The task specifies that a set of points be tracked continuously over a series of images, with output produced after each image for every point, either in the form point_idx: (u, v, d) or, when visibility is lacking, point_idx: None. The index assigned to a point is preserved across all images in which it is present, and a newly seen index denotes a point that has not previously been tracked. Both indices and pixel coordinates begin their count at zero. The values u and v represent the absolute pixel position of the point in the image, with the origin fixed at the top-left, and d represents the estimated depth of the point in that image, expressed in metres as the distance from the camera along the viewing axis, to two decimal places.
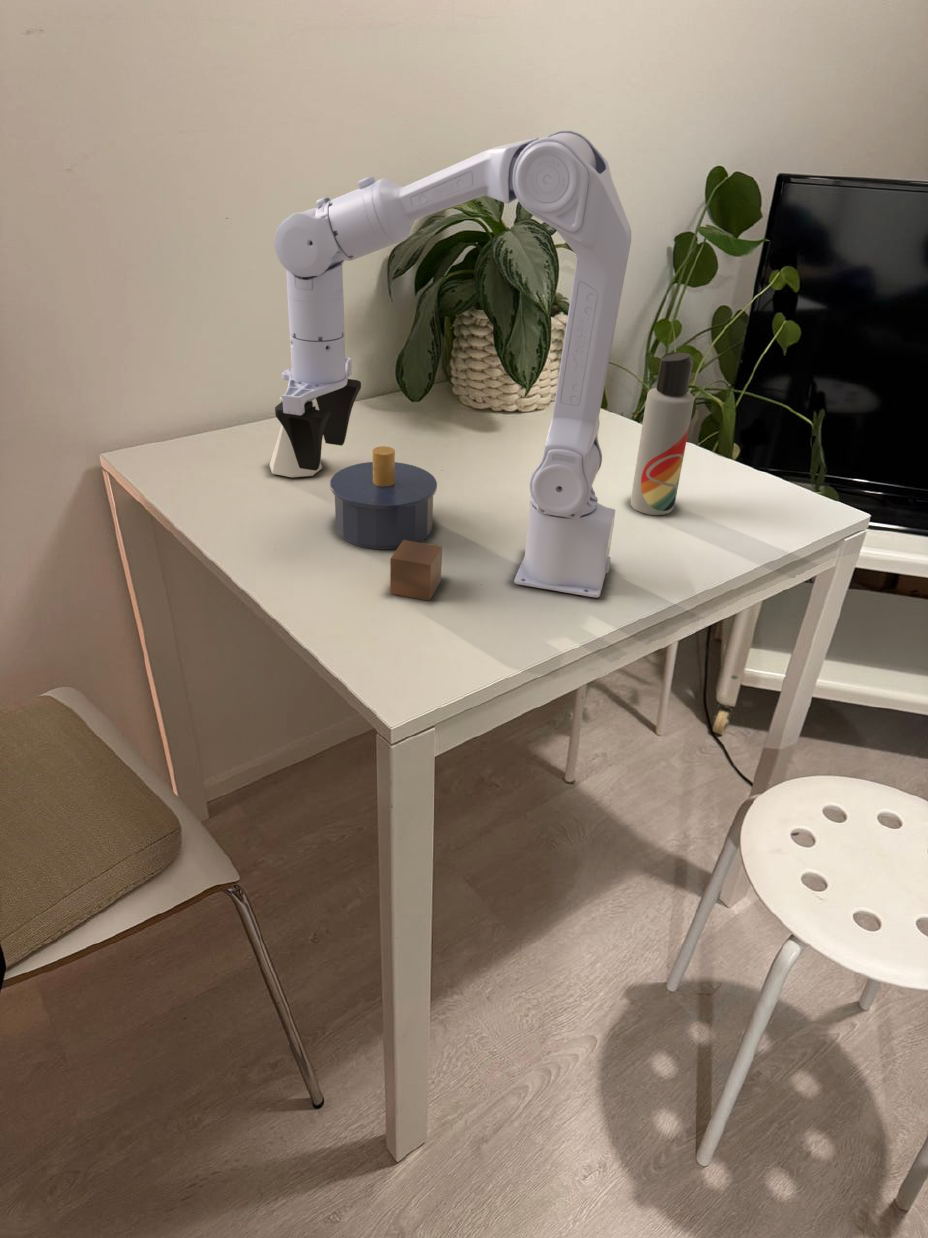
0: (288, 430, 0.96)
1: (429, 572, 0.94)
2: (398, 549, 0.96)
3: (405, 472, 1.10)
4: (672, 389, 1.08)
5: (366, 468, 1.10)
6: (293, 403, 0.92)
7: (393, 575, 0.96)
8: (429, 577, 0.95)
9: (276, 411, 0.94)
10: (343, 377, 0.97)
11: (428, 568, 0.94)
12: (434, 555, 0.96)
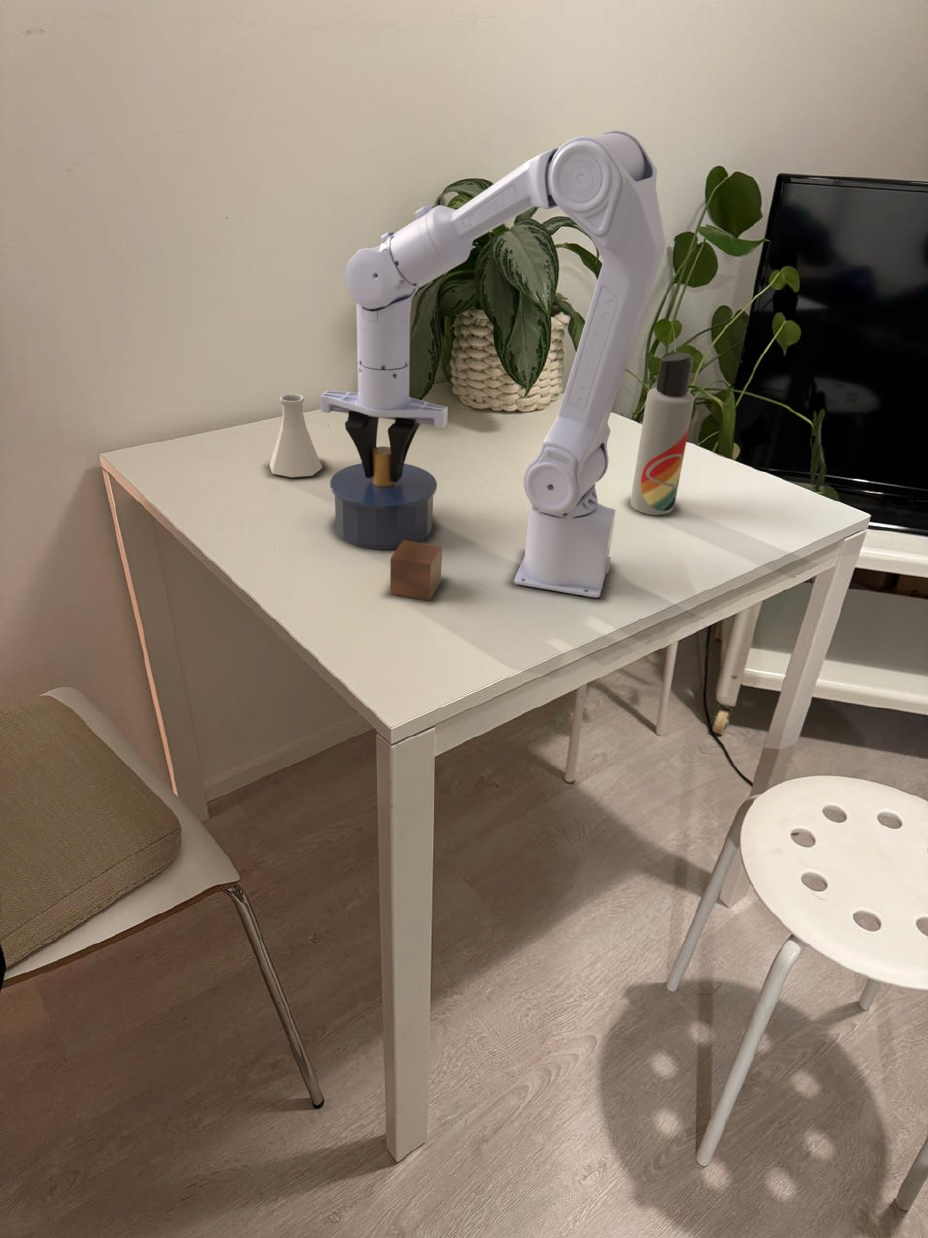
0: None
1: (429, 572, 0.94)
2: (398, 549, 0.96)
3: (405, 472, 1.10)
4: (672, 389, 1.08)
5: None
6: None
7: (393, 575, 0.96)
8: (429, 577, 0.95)
9: None
10: (374, 407, 0.99)
11: (428, 568, 0.94)
12: (434, 555, 0.96)
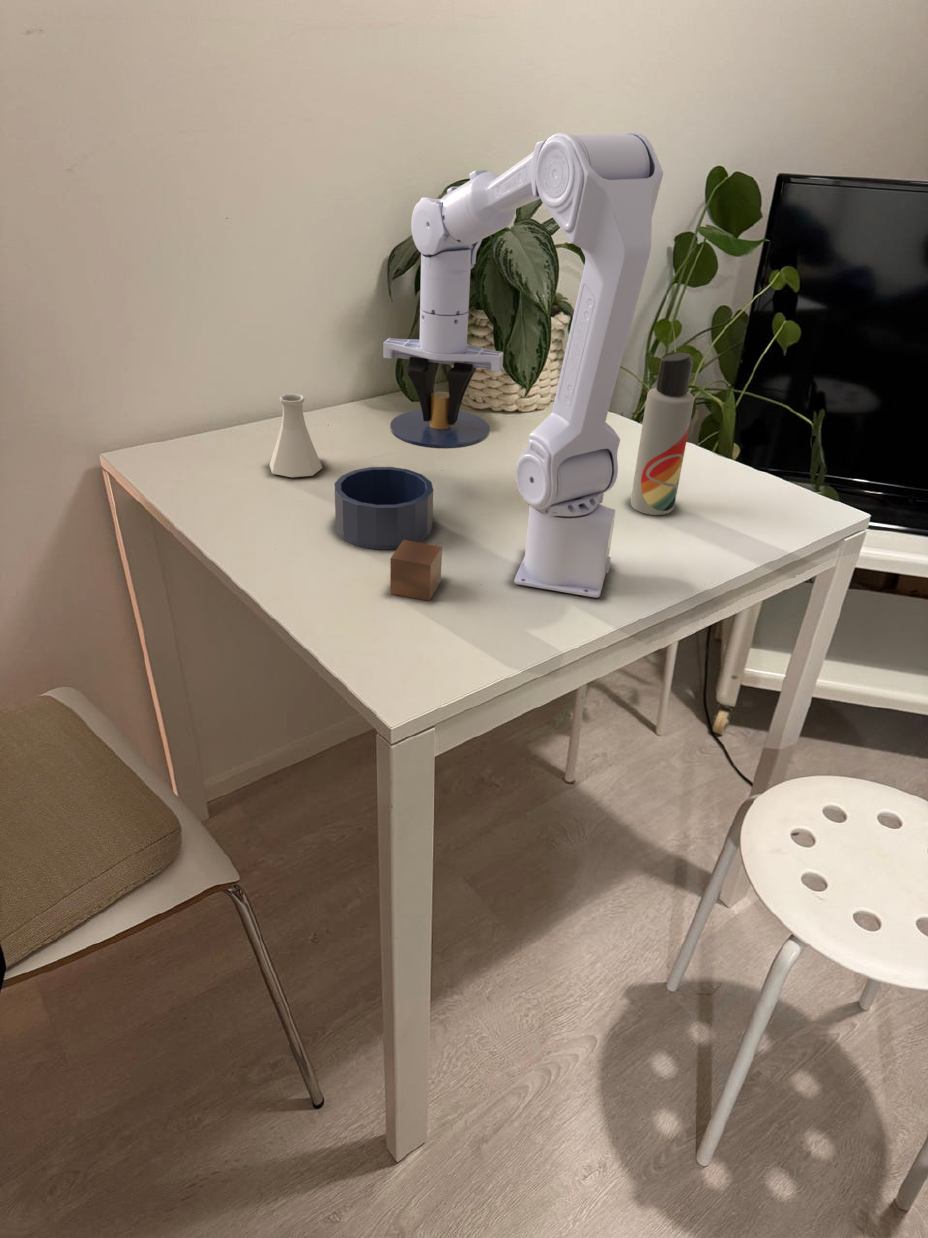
0: None
1: (429, 572, 0.94)
2: (398, 549, 0.96)
3: (459, 417, 1.17)
4: (672, 389, 1.08)
5: (422, 414, 1.17)
6: None
7: (393, 575, 0.96)
8: (429, 577, 0.95)
9: None
10: (436, 352, 1.06)
11: (428, 568, 0.94)
12: (434, 555, 0.96)
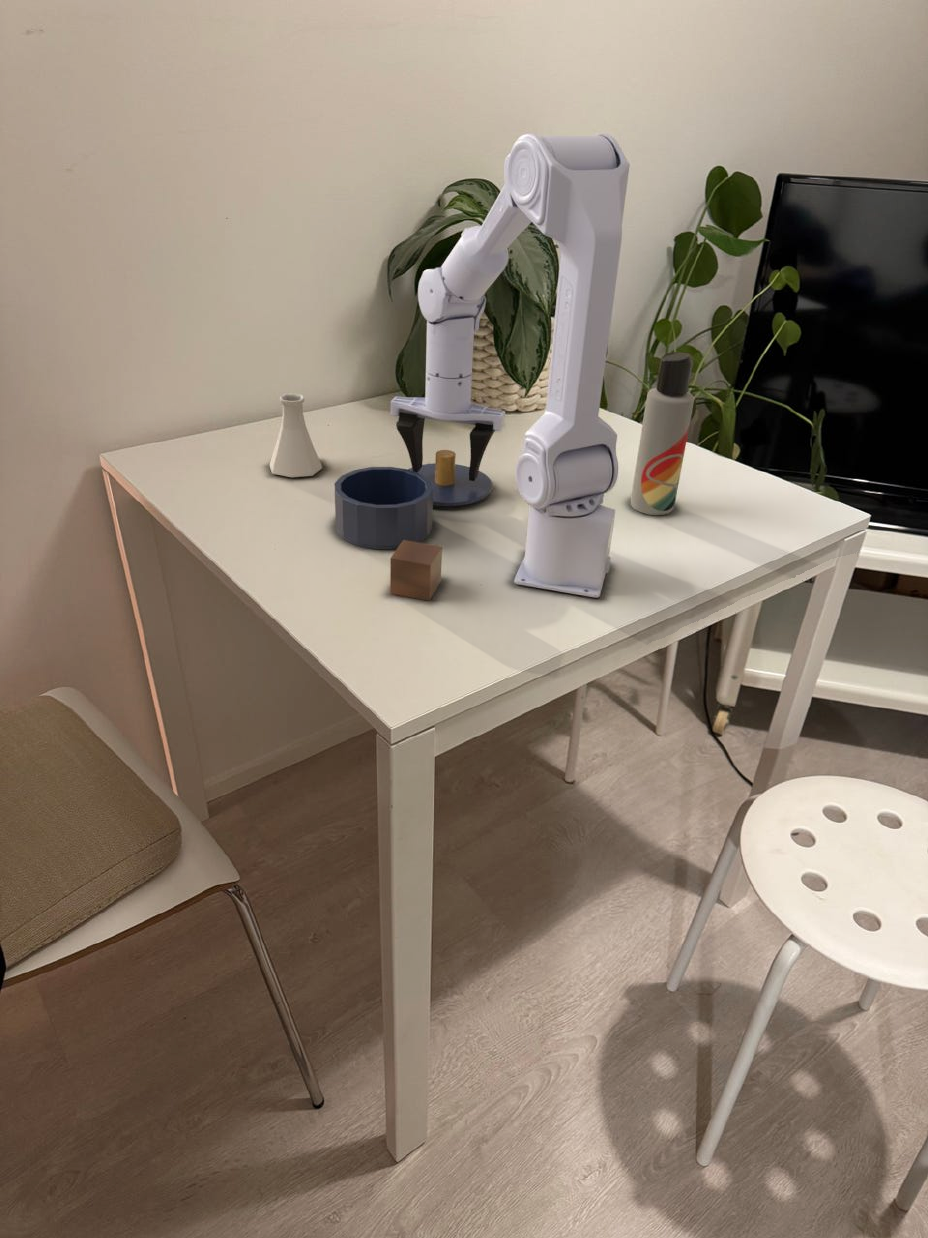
0: None
1: (429, 572, 0.94)
2: (398, 549, 0.96)
3: (462, 473, 1.22)
4: (672, 389, 1.08)
5: (427, 469, 1.23)
6: None
7: (393, 575, 0.96)
8: (429, 577, 0.95)
9: None
10: (441, 412, 1.12)
11: (428, 568, 0.94)
12: (434, 555, 0.96)
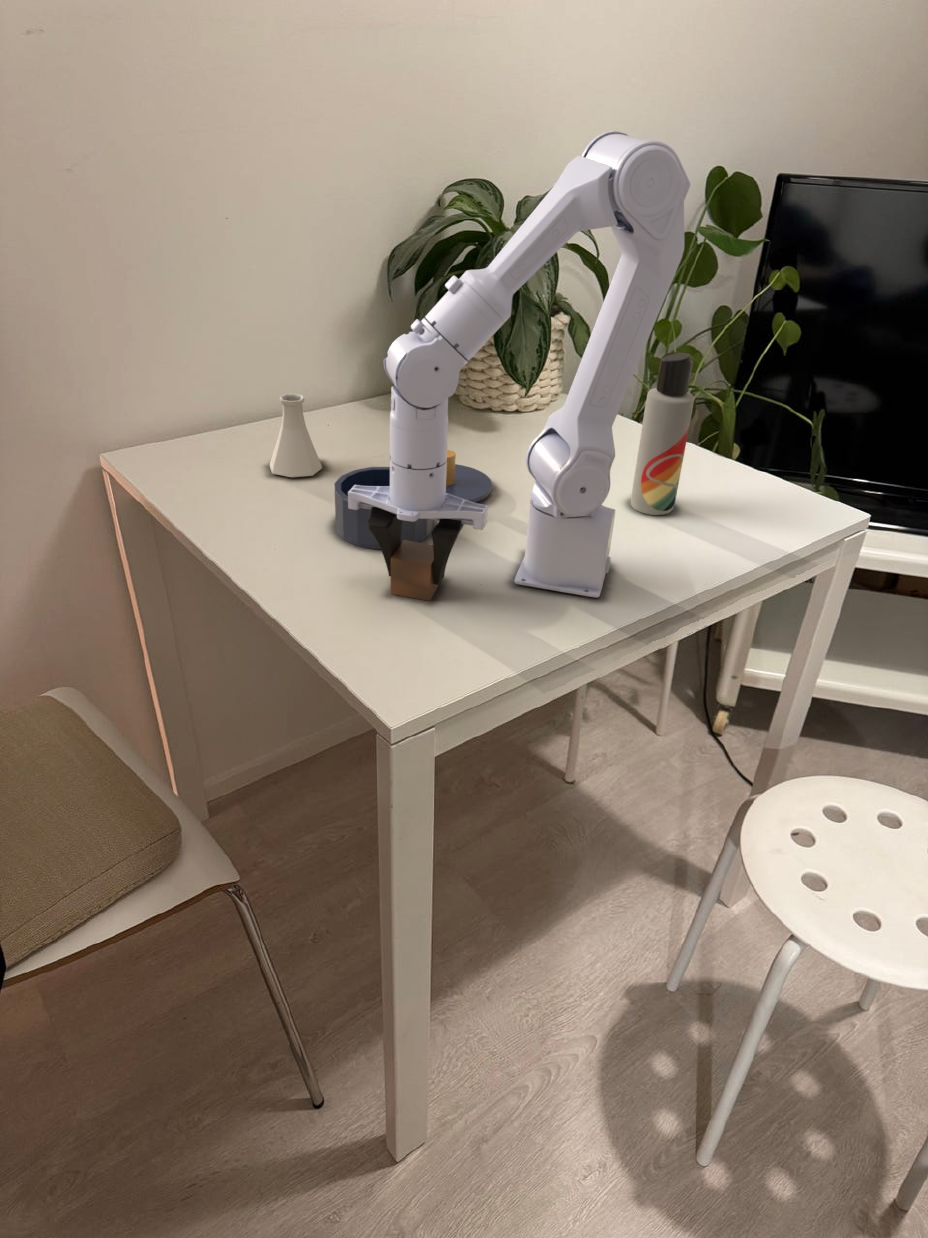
0: (449, 550, 0.93)
1: (429, 572, 0.94)
2: (398, 549, 0.96)
3: (462, 473, 1.22)
4: (672, 389, 1.08)
5: None
6: (486, 515, 0.92)
7: (393, 575, 0.96)
8: (429, 577, 0.95)
9: (454, 536, 0.91)
10: None
11: (428, 568, 0.94)
12: None
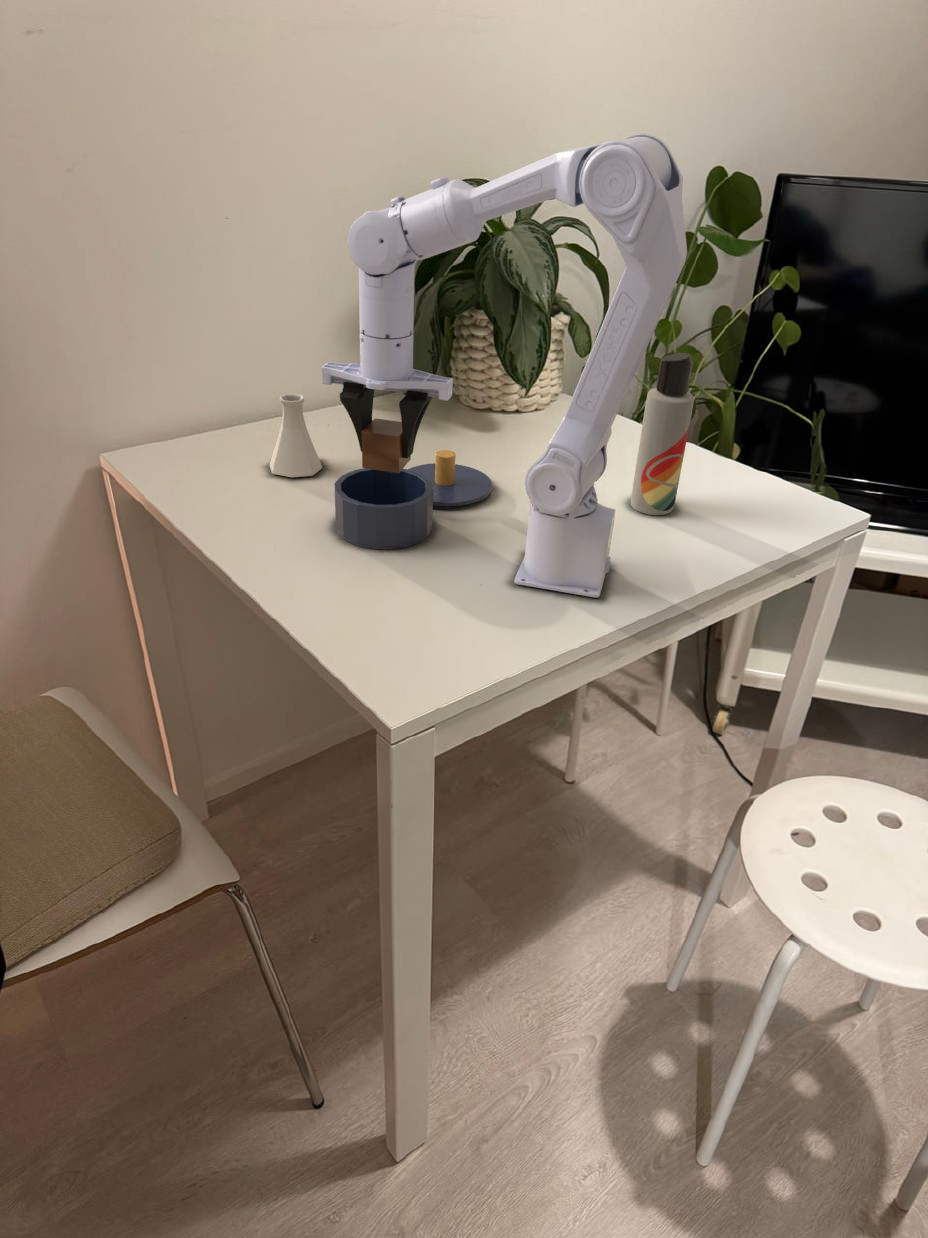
0: (416, 421, 0.99)
1: (398, 444, 1.00)
2: (369, 425, 1.02)
3: (462, 473, 1.22)
4: (672, 389, 1.08)
5: (427, 469, 1.23)
6: (451, 386, 0.98)
7: (364, 448, 1.02)
8: (398, 449, 1.01)
9: (420, 405, 0.97)
10: None
11: (397, 440, 1.00)
12: None
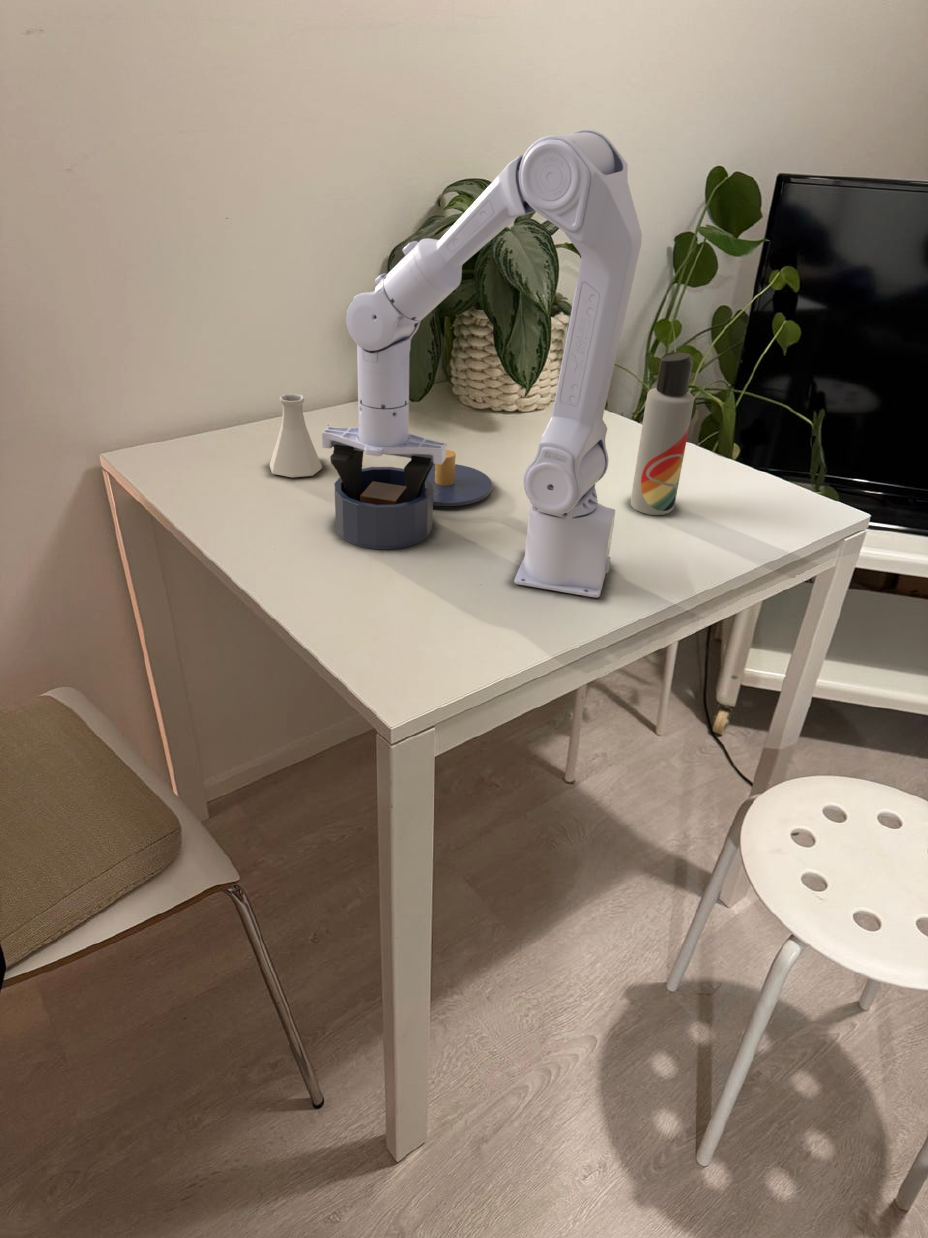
0: (420, 485, 1.04)
1: None
2: (367, 488, 1.08)
3: (462, 473, 1.22)
4: (672, 389, 1.08)
5: None
6: (444, 451, 1.03)
7: None
8: None
9: (424, 471, 1.02)
10: None
11: (393, 504, 1.06)
12: (399, 493, 1.07)
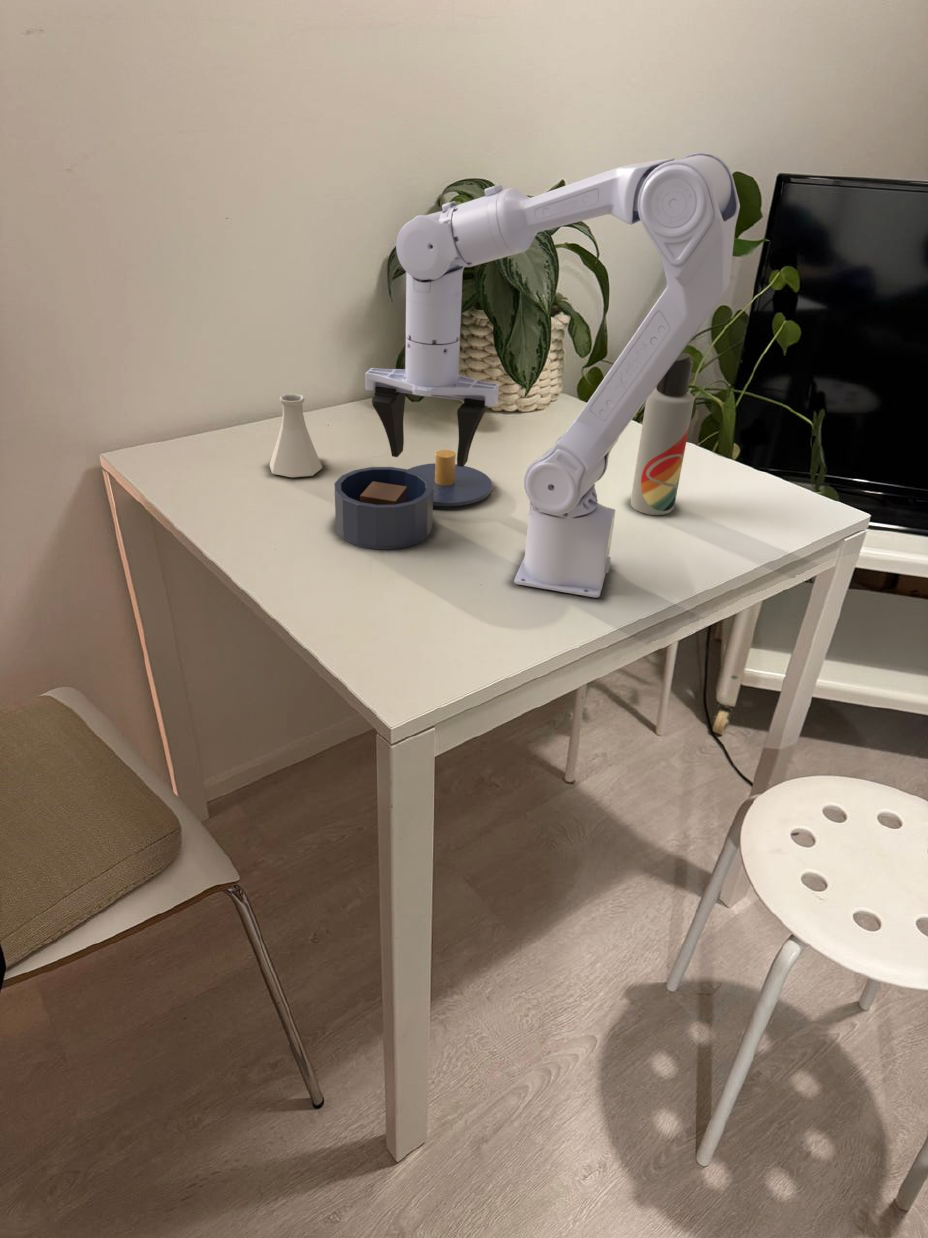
0: (473, 430, 0.98)
1: None
2: (367, 488, 1.08)
3: (462, 473, 1.22)
4: (672, 389, 1.08)
5: (427, 469, 1.23)
6: (497, 392, 0.97)
7: None
8: None
9: (478, 413, 0.96)
10: None
11: (393, 504, 1.06)
12: (399, 493, 1.07)
